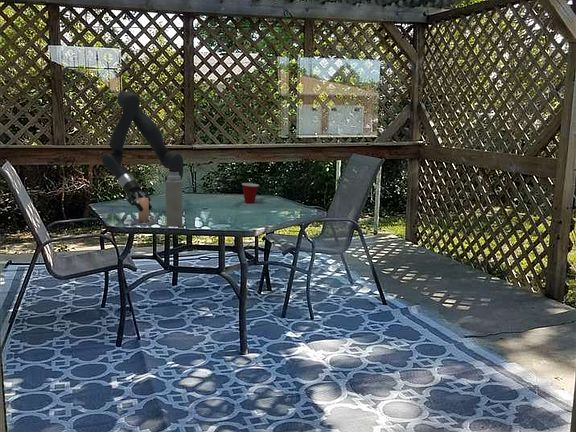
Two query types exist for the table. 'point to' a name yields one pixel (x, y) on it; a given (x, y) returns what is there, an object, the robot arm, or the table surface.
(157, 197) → the table surface
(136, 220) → the coaster
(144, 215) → the tan tapered cylinder
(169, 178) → the thermos bottle
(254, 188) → the plastic cup
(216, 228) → the table surface
